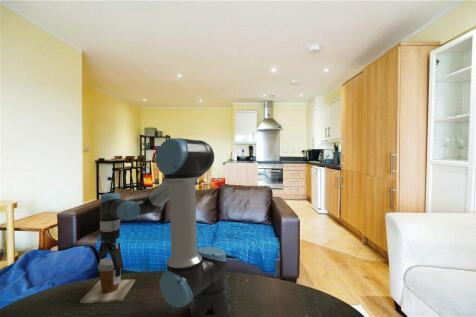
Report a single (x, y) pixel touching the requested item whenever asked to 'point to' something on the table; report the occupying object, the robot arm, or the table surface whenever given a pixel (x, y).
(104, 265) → the disposable coffee cup
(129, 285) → the wooden board
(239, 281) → the table surface
